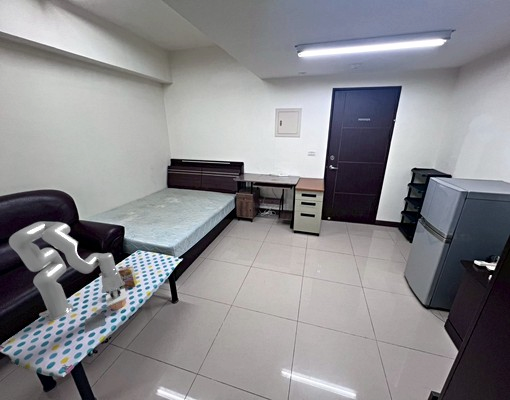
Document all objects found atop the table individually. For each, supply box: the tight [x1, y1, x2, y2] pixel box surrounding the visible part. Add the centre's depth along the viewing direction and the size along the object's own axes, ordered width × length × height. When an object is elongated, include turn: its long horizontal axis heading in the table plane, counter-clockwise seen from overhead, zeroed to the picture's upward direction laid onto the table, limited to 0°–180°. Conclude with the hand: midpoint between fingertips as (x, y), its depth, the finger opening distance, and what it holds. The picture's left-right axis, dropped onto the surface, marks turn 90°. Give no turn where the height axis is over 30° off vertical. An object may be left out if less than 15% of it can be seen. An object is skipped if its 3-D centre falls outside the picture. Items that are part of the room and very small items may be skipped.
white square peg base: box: [105, 287, 128, 307], centre depth 141 cm, size 11×11×6 cm
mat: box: [84, 311, 107, 334], centre depth 131 cm, size 10×12×1 cm
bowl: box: [109, 299, 127, 311], centre depth 143 cm, size 9×9×5 cm
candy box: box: [118, 266, 138, 289], centre depth 159 cm, size 9×4×15 cm, turn 98°
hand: (116, 295), depth 141 cm, fingers closed on white square peg base, 3 cm apart
